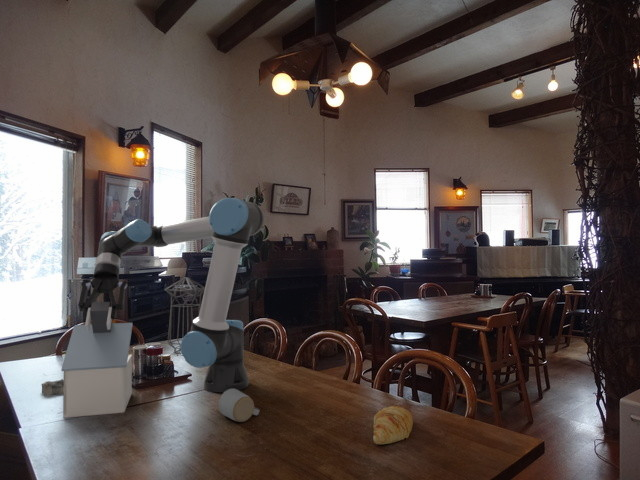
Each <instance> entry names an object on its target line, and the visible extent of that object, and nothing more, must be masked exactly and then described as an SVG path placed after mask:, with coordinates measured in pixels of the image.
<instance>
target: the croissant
mask: <svg viewBox="0 0 640 480" xmlns="http://www.w3.org/2000/svg"><path fill="white" fill-rule="evenodd" d="M413 424H414V420H413V415H412V413H411V411H410V410H409V409H407V408H404V407H403V406H401V405H398V406H397V405H391V406H387V407H384V408H381V409H380V410H378V411H377V412H376V414H375V415H374V417H373V425H372V426H373V427H372V428H373V436H372V437H373V443H374V444H375V445H380V446H381V445H388V444H393V443H396V442H400V441H403V440H404V439H405V438H406V439H408V438H409V437H410V434H411V433H412V429H413Z"/></svg>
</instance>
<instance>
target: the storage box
mask: <svg viewBox="0 0 640 480" xmlns="http://www.w3.org/2000/svg"><path fill="white" fill-rule="evenodd" d="M132 367H133V354H128V360H127V367H120V368H105V369H90V370H75V371H63V380H64V389H63V393H62V395H63V399H62V400H63V401H62V404H63V406H62V408H63V410H62V413H63V414H62V418H76V417H77V418H78V417H87V416H98V415H108V414H110V415H111V414H119V413H120V414H121V413H122V414H123V413H125V412H126V409H127V406H128V404H129V401H130V400H131V397H132V394H133V391H132V390H133V387H132V386H133V385H132V384H133V382H132V381H133V374H132V373H133V368H132Z"/></svg>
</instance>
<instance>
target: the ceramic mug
mask: <svg viewBox="0 0 640 480" xmlns="http://www.w3.org/2000/svg"><path fill="white" fill-rule="evenodd" d="M217 407H218V411H219V412H220V414H221V415H223V416H225V417H226V418H229V419H231V420H233V421H234V422H237V423H244V422H246V421H248V420H249V419H250V418H251V417H252V415H253V416H258V415H259V414H260V409H259V408H257V407H255V402H254V400H253V399H252V398H251V397H250V396H249V395H247V394H245V393H243V392H242V391H241V390H237V389H228V390H226V391H225V392H222V393H221V395H220V398H219V400H218V406H217Z"/></svg>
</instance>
